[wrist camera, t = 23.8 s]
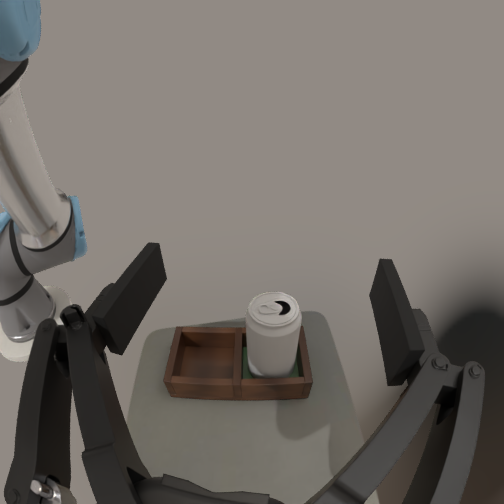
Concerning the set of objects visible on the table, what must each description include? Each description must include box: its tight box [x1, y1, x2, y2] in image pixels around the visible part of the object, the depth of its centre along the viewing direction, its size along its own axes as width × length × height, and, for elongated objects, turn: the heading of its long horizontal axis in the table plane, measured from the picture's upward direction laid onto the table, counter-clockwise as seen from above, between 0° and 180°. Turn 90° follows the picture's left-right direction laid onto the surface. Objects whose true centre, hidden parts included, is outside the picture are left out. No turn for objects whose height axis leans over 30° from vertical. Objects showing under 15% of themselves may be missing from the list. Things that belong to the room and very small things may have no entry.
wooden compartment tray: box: [163, 326, 313, 400], centre depth 36 cm, size 19×10×4 cm, turn 90°
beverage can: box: [246, 292, 302, 379], centre depth 34 cm, size 6×6×12 cm
